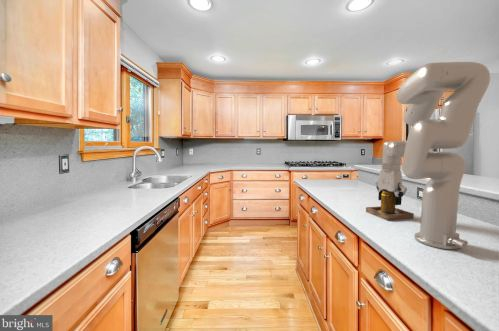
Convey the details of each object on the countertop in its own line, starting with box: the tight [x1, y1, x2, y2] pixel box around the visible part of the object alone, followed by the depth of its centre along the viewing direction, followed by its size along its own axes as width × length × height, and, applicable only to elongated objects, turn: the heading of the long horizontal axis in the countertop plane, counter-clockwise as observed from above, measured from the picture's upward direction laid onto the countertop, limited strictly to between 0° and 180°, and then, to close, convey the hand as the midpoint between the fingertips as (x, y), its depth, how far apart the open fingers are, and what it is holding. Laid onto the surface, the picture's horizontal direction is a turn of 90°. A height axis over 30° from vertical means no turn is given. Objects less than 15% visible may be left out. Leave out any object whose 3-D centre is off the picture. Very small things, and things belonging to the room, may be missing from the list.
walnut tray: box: [365, 205, 415, 221], centre depth 111 cm, size 14×14×2 cm
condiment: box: [379, 189, 399, 215], centre depth 110 cm, size 7×8×12 cm
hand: (389, 202), depth 110 cm, fingers open, 9 cm apart
